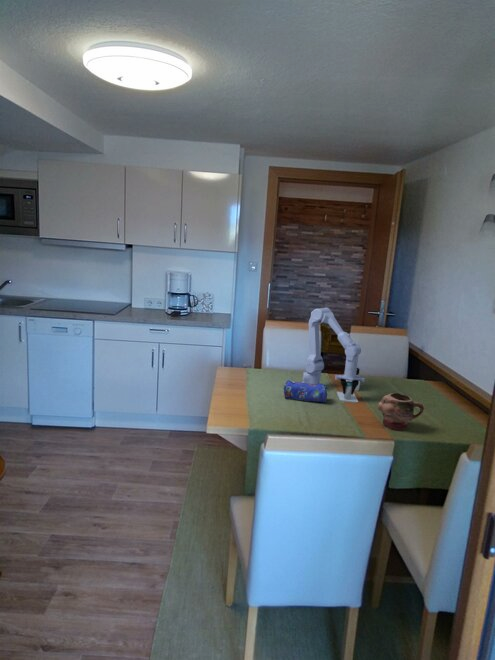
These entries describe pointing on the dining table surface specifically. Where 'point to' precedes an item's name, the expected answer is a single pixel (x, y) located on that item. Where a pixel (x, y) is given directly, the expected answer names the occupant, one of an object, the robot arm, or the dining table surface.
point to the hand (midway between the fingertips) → (347, 393)
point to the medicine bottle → (358, 381)
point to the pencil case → (305, 391)
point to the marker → (348, 390)
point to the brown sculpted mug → (398, 410)
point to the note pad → (353, 399)
